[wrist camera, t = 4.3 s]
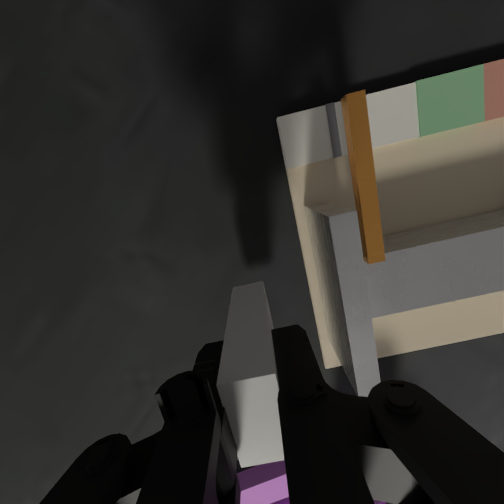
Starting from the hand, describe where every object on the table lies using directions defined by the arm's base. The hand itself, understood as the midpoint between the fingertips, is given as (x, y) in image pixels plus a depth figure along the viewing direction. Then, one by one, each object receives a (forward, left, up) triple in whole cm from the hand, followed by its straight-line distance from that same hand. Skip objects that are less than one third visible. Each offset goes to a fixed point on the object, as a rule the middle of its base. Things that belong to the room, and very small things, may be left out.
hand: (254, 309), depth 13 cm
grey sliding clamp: (-2, +10, -2) cm, 11 cm away
